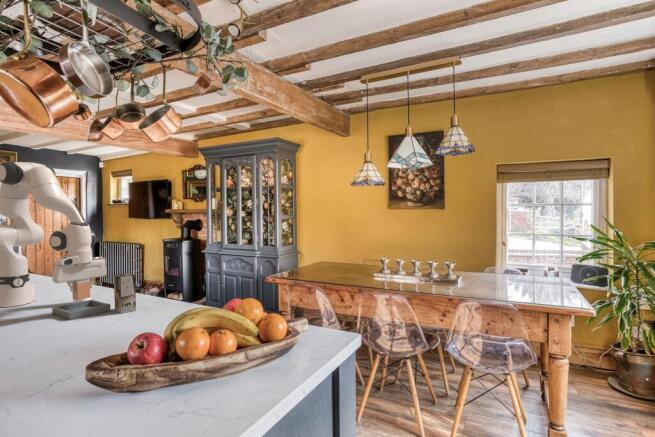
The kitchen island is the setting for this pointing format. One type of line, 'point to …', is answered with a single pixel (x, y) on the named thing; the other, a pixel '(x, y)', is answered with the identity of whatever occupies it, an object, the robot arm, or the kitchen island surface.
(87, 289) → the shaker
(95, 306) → the tray
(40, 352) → the kitchen island surface
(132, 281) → the coffee box
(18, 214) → the robot arm
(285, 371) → the kitchen island surface
